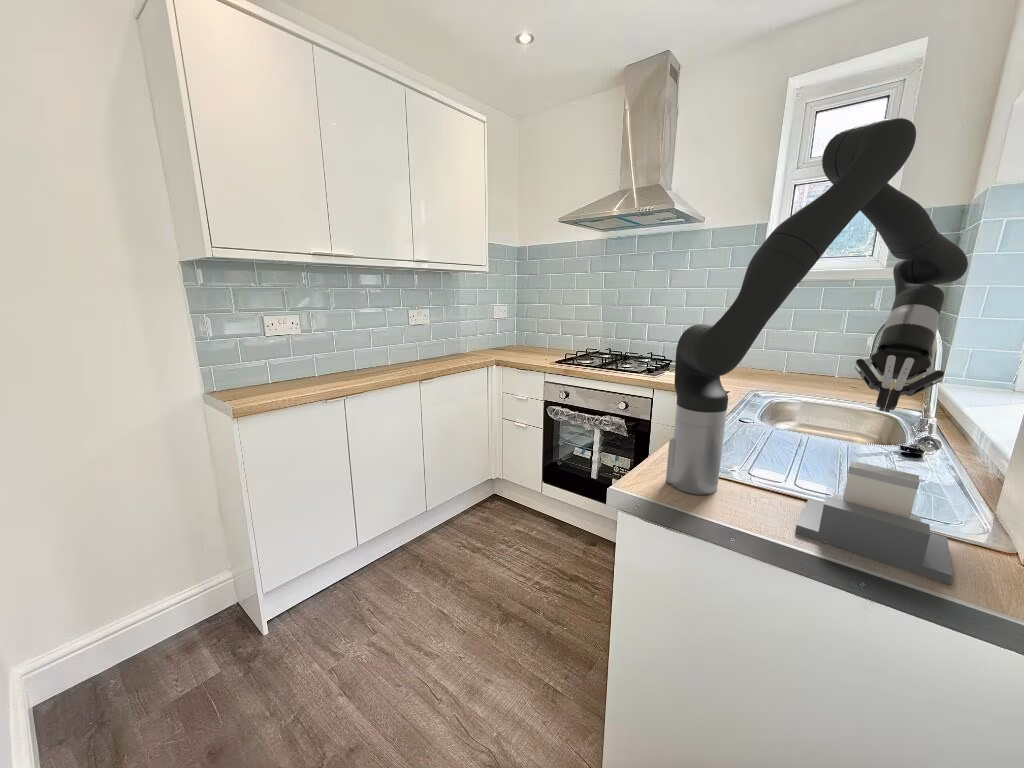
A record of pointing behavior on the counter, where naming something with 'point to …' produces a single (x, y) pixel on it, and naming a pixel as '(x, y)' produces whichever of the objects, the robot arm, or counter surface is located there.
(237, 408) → the counter surface
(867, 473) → the light grey upright block
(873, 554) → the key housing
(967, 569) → the counter surface
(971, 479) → the counter surface
